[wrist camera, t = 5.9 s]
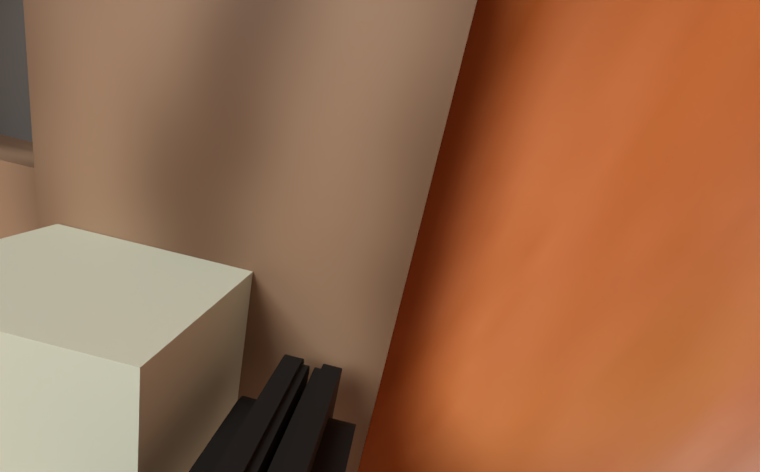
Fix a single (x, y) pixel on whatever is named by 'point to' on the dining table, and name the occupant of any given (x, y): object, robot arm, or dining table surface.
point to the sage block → (114, 352)
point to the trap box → (242, 153)
